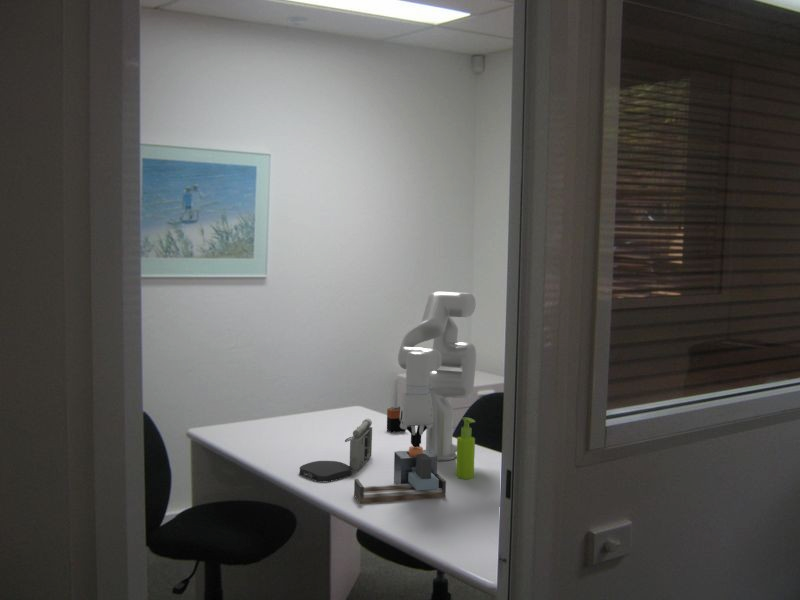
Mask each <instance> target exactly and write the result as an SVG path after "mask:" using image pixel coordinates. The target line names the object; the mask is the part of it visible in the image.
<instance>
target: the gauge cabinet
mask: <svg viewBox="0 0 800 600" xmlns="http://www.w3.org/2000/svg"><path fill="white" fill-rule="evenodd" d="M423 454H426V455H427V456H428V457H430V458H431V459H432V463H431V473H432V474H433V475H435V474H438V461H437V456H436V455H435V454H434V453H433V452H432V451H431V450H426V449H423ZM393 455H394V459H393V460H394V461H393V483H394V485H395V484H410V483H409V482H408V472H416V456H413V457H410V456H409V450H399V451H396V450H395V451H394V454H393Z"/></svg>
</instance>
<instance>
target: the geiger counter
mask: <svg viewBox="0 0 800 600" xmlns="http://www.w3.org/2000/svg"><path fill="white" fill-rule="evenodd" d="M372 424H373V422H372V420H371V419H370V418H365V419H364V420H363V421H362V423H361V424H360V425H359V426H357V427H356V428H355V429H354V430H353V432H352V436H350V437H348V438H346V439H345V440H344V442H345V443H347V442H350V443H349V466H350V467H351V468H352V472H359V471H360V470H361V469H362V468H363V467H364V465H365V464H367V462H368V461H367V460H370V458H371V457H372V450H373V449H372V446H373V427H372ZM366 461H367V462H366ZM360 468H361V469H360Z"/></svg>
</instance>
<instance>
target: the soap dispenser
mask: <svg viewBox="0 0 800 600" xmlns="http://www.w3.org/2000/svg"><path fill="white" fill-rule="evenodd" d="M461 420H463V426H461V429H460V435H459V436H458V437H457V438H456V440H457V441H456V445H457V452H456V467H455V468H456V470H455V471H456V472H455V477H456V476H457V477H456V478H458V479H461V480H471V479H473V478H474V477H475V454H476V453H475V451H476V450H475V448H476V445H475V444H476V438H475V437H474V436H472V427H471V426H470V424H473V423H476V420H475V419H473V418H471V417H468V416H467V417H462V418H461Z"/></svg>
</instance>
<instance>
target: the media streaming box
mask: <svg viewBox="0 0 800 600" xmlns="http://www.w3.org/2000/svg"><path fill="white" fill-rule="evenodd" d="M352 472H353V471H352V468H351V467H350V465H348V464H346V463H345V462H341V461H336V460H316V461H312V462H311V461H310V462H308V463H304V464H302V465H301V466H300V467H299V475H301V476H303V477H304V478H307V479H310V480H312V479H313V481H315V480H316V482H319V481H322V482H321V483H324V482H323V481H328V482H332V481H331V480H333V481H337V480H340V478H341V479H344V477H345V478H348V477H350V476H352V474H353V473H352ZM347 476H348V477H347ZM336 479H337V480H336Z"/></svg>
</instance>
